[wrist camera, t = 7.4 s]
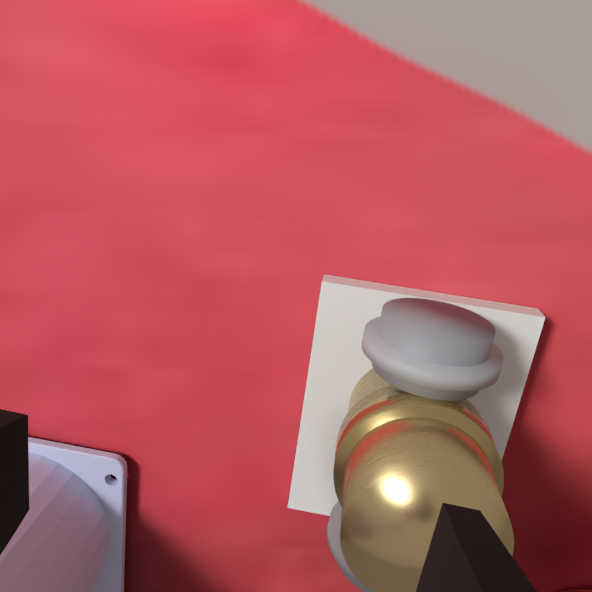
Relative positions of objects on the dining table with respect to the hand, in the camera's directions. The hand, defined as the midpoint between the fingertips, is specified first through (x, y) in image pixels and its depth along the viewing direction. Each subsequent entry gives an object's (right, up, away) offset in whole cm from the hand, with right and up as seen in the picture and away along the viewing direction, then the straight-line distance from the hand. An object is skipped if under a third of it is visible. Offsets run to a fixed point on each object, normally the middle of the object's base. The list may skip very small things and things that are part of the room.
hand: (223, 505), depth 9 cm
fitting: (+5, -1, +10) cm, 11 cm away
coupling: (+5, 0, +9) cm, 10 cm away
